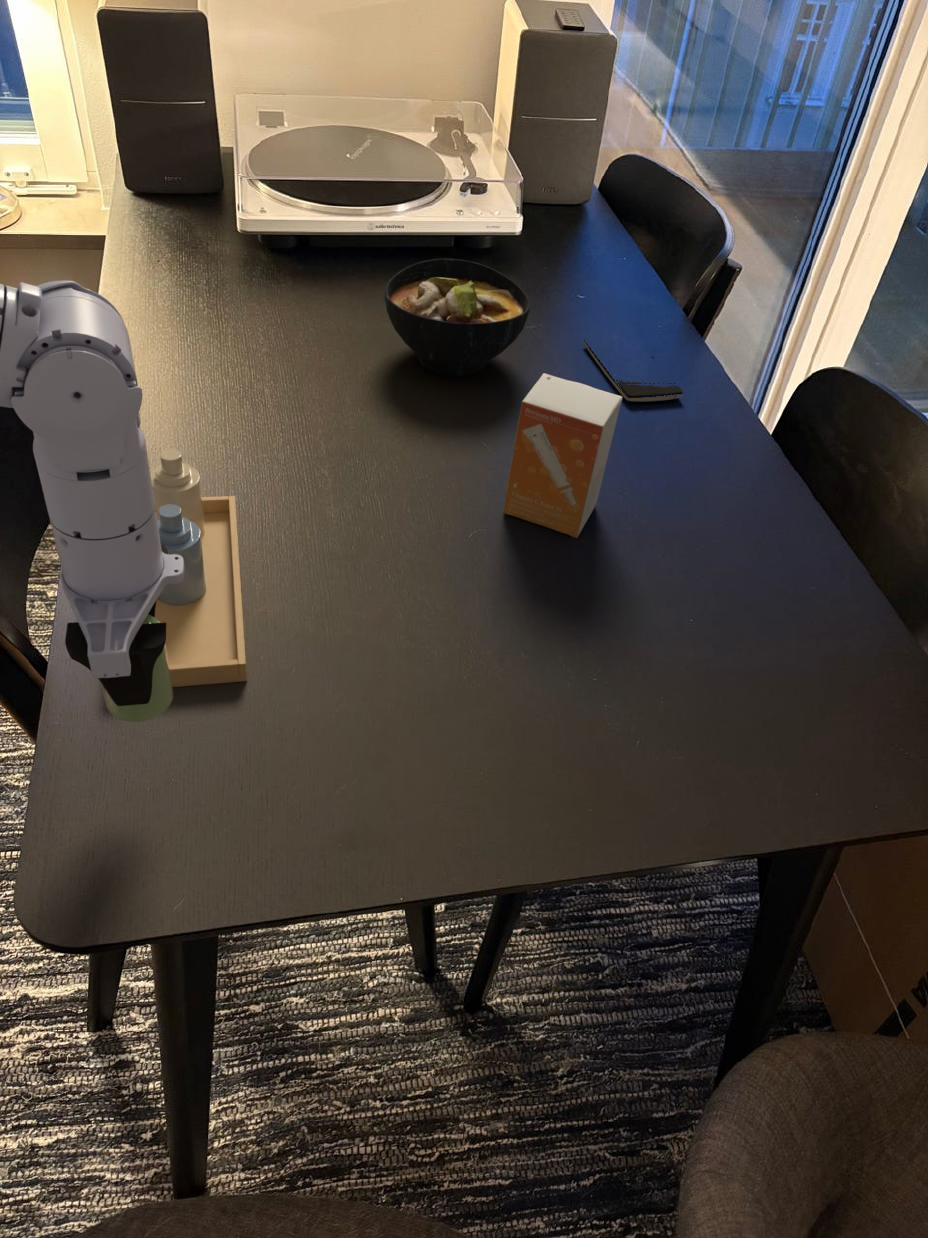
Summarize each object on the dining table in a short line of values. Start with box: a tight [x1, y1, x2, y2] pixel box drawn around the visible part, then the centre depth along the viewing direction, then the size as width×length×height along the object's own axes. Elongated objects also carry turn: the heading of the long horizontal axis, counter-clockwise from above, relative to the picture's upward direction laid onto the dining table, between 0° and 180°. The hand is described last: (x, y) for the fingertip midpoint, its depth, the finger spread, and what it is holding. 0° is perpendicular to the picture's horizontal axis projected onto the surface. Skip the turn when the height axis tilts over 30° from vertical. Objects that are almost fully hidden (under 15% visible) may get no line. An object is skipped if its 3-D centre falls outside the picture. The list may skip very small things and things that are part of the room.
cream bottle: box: [150, 448, 205, 538], centre depth 86 cm, size 4×4×8 cm
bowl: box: [384, 258, 531, 377], centre depth 115 cm, size 17×17×10 cm
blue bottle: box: [157, 504, 207, 605], centre depth 81 cm, size 4×4×8 cm
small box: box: [503, 372, 623, 539], centre depth 94 cm, size 8×6×13 cm
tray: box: [155, 495, 248, 688], centre depth 83 cm, size 10×22×2 cm, turn 12°
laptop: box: [583, 339, 684, 402], centre depth 120 cm, size 7×1×15 cm
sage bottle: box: [100, 614, 174, 723], centre depth 63 cm, size 4×4×8 cm
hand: (134, 673), depth 64 cm, fingers closed on sage bottle, 4 cm apart
